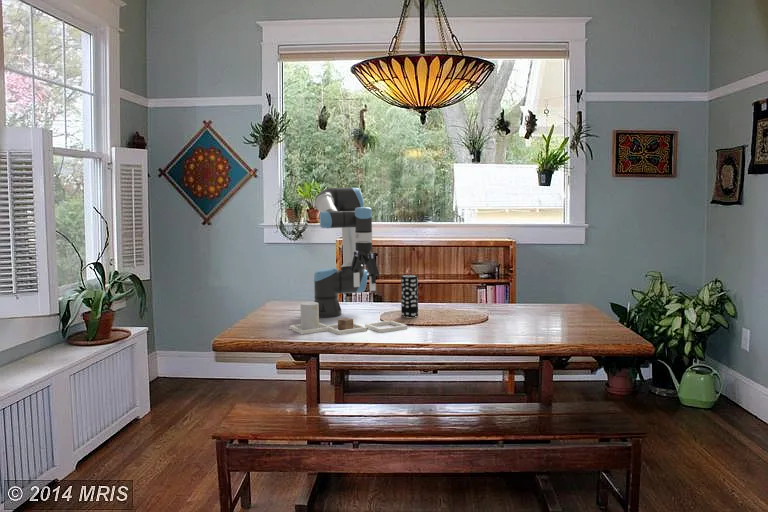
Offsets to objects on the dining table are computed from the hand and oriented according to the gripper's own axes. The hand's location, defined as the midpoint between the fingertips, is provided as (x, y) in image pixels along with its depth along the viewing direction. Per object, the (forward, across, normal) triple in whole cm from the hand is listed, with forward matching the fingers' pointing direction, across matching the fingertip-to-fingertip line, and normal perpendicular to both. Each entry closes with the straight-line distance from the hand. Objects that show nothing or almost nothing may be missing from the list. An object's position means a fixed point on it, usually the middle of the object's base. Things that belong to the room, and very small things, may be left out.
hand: (364, 288), depth 305 cm
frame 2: (+18, -3, -8) cm, 20 cm away
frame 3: (+18, +4, +8) cm, 21 cm away
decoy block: (+18, -3, -8) cm, 20 cm away
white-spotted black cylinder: (+19, -11, +33) cm, 40 cm away
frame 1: (+18, -14, -21) cm, 31 cm away
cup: (+19, -14, -21) cm, 31 cm away
